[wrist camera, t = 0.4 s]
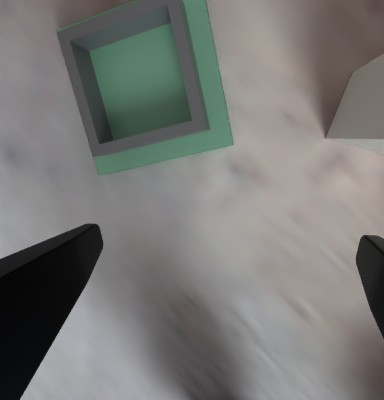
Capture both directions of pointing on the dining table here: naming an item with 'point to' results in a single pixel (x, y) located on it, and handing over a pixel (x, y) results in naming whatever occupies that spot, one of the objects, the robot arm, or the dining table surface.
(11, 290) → the robot arm
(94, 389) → the dining table surface
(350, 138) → the white rectangular block
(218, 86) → the green and grey tray
